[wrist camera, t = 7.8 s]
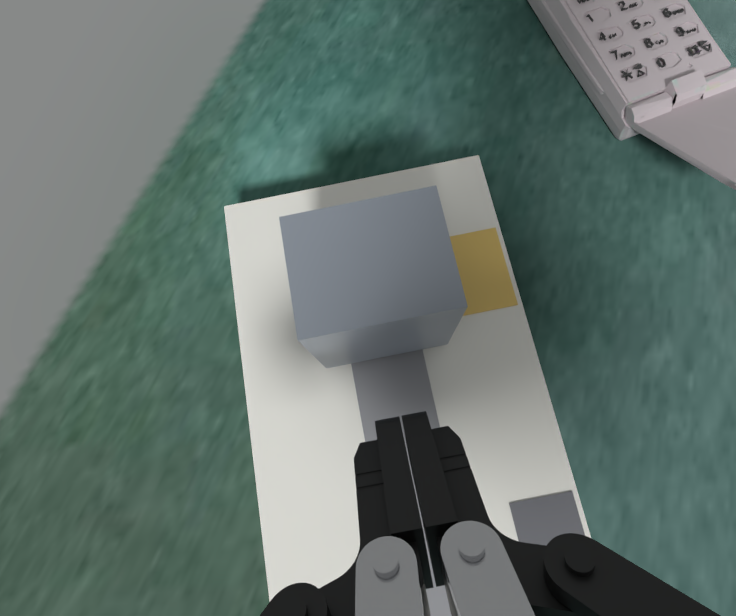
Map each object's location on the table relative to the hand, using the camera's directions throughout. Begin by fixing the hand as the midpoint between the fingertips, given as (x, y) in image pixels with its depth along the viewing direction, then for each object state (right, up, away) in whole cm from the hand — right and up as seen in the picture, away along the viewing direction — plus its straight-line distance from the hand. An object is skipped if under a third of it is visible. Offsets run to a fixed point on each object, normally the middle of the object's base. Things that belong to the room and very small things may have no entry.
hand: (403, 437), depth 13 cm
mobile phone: (+12, +17, +12) cm, 24 cm away
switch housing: (0, -1, +7) cm, 7 cm away
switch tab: (-1, +4, +6) cm, 7 cm away
